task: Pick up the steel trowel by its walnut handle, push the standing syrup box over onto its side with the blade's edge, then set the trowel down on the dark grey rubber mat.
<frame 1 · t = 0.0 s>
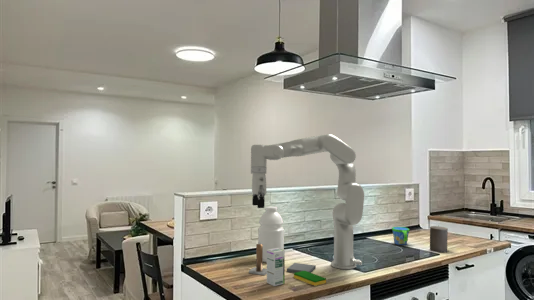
hand: (258, 206, 172), 31 cm above the worktop, tool pointing down, fingers open, 9 cm apart
dish sponge: (309, 281, 161), on the worktop
snack cup: (400, 244, 232), on the worktop
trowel: (259, 272, 172), on the worktop
bottle: (270, 259, 194), on the worktop
syrup box: (275, 283, 157), on the worktop
rubber mat: (301, 270, 176), on the worktop
pillar candle: (438, 250, 217), on the worktop
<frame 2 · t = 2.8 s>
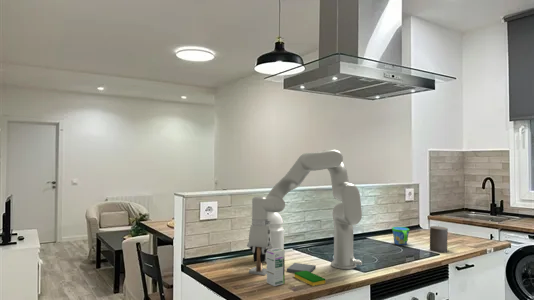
hand: (259, 261, 172), 5 cm above the worktop, tool pointing down, fingers closed on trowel, 3 cm apart
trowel: (259, 272, 172), on the worktop, touching gripper
everything else where it was.
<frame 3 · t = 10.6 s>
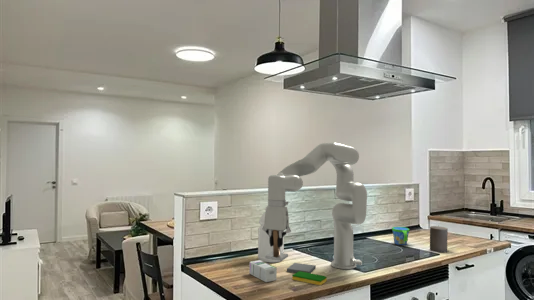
hand: (276, 245, 157), 16 cm above the worktop, tool pointing down, fingers closed on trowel, 3 cm apart
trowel: (276, 257, 157), point 11 cm above the worktop, touching gripper
syrup box: (271, 275, 159), point 3 cm above the worktop
when the fingers open (8 cm above the worktop, at t = 19.0 s): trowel drops 1 cm, resting on rubber mat.
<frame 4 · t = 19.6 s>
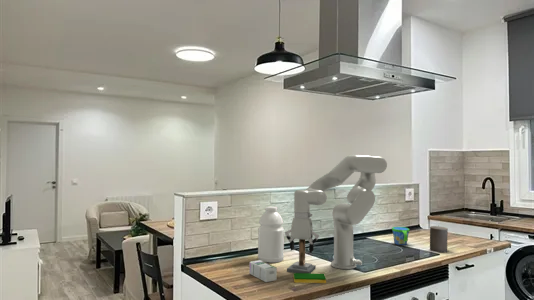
hand: (301, 250, 176), 9 cm above the worktop, tool pointing down, fingers open, 9 cm apart
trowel: (302, 266, 176), point 1 cm above the worktop, touching rubber mat
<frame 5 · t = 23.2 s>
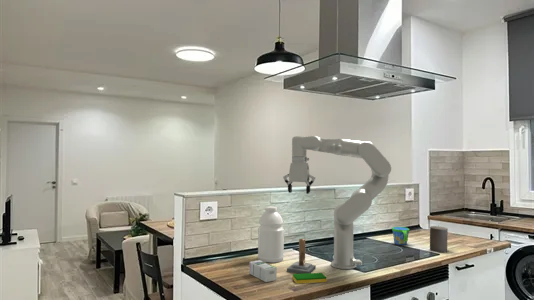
hand: (298, 193, 188), 36 cm above the worktop, tool pointing down, fingers open, 9 cm apart
at the end: syrup box tilted 89°; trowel 0.7 cm off-centre on the rubber mat, point 1.5 cm above the rubber mat's base; the gripper is holding nothing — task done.
